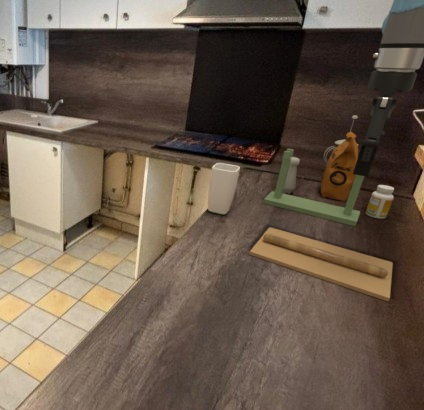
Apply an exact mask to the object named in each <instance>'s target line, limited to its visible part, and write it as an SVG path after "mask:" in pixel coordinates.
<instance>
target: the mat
mask: <svg viewBox="0 0 424 410" xmlns="http://www.w3.org/2000/svg"><path fill="white" fill-rule="evenodd" d="M265 234H271V235H274V236H277V237H281V238H284V239H287V240H291V241H294V242H297V243H301V244H304V245H308V246H311V247H314V248H318V249H321V250H324V251H328V252H331V253H334V254H338V255H341V256H345V257H348V258H351V259H355V260H358V261H361V262H365V263H368V264H371V265H375V266H378V267H382V268H384V269H386V270H387V271H388V275H387V276H386V277H383V278H381V277H378V276H374V275H371V274H368V273H365V272H362V271H358V270H355V269H352V268H349V267H345V266H342V265H339V264H336V263H333V262H329V261H326V260H323V259H320V258H316V257H313V256H310V255H307V254H304V253H300V252H297V251H294V250H291V249H287V248H284V247H281V246H278V245H275V244H271V243H268V242H265V241H264V239H263V237H264V235H265ZM248 255H249V256H252V257H254V258H258V259H261V260H264V261H266V262H270V263H272V264H276V265H278V266H282V267H285V268H288V269H290V270H294V271H297V272H299V273H302V274H305V275H308V276H311V277H314V278H317V279H320V280H323V281H325V282H329V283H332V284H335V285H337V286H341V287H343V288H346V289H349V290H352V291H354V292H355V291H356V292H358V293H361V294H364V295H367V296H370V297H373V298H376V299H379V300H382V301H385V302H387V303H388V302H390V299H391V289H392V279H393V278H392V277H393V267H394V266H393V265H394V263H393V261H389V260H386V259H382V258H378V257H376V256H372V255H368V254H365V253H361V252H358V251H354V250H350V249H348V248H343V247H340V246H336V245H333V244H330V243H327V242H324V241H320V240H315V239H313V238H309V237H305V236H302V235H299V234H295V233H291V232H288V231H285V230H282V229H278V228H274V227H271V226H269V227H268V228H267V230H265V231H264V233H263V234H262V236H261V237H260V238H259V239H258V241H257V242H256V243H255V244H254V245H253V247H252V248H251V249H250V251H249V253H248Z"/></svg>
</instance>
